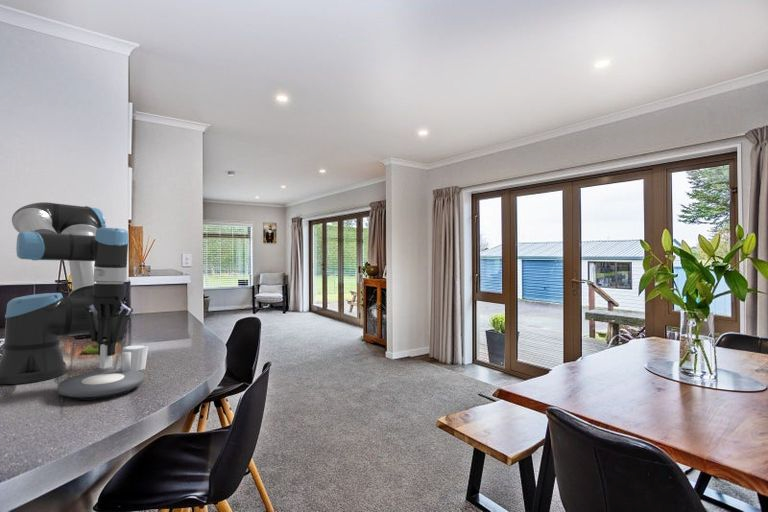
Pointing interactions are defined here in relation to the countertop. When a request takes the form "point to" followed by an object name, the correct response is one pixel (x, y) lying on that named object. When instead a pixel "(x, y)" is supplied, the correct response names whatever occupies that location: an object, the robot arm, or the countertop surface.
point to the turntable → (103, 381)
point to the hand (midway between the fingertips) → (105, 367)
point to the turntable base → (101, 396)
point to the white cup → (137, 356)
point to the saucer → (92, 349)
